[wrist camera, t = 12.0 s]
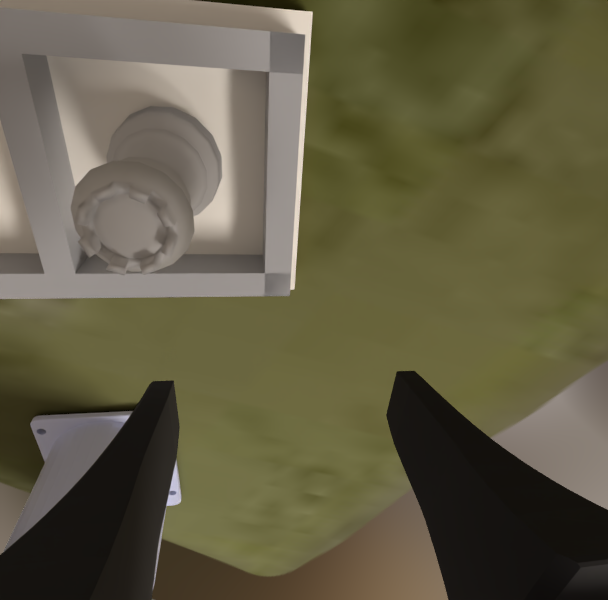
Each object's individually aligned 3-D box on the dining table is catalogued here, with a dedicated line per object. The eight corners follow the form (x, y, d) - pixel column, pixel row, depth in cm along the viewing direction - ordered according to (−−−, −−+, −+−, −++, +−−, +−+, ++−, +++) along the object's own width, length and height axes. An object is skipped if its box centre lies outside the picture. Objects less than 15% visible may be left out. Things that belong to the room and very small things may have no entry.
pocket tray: (292, 280, 22) (299, 309, 20) (-144, 282, 19) (-201, 317, 17) (308, 13, 16) (321, 7, 14) (-328, -48, 13) (-465, -72, 11)
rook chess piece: (243, 150, 18) (246, 212, 11) (190, 230, 19) (164, 330, 12) (144, 78, 16) (75, 100, 9) (95, 174, 17) (3, 254, 10)
